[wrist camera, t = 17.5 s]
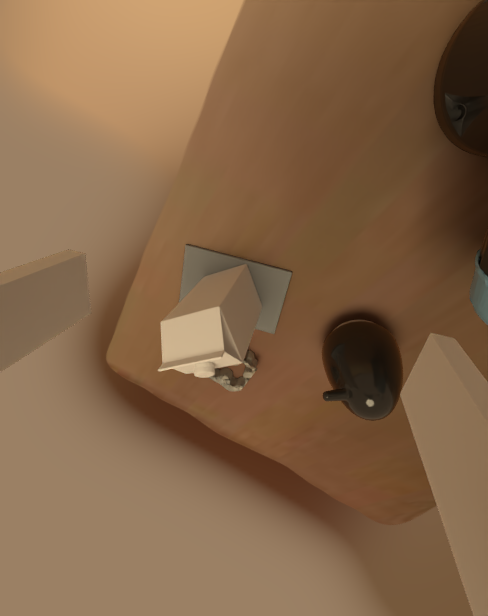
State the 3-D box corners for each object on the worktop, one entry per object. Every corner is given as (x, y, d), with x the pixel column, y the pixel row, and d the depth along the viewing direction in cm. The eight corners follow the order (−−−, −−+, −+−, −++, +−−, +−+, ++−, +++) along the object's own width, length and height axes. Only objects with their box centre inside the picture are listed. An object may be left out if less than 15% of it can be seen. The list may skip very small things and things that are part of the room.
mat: (292, 271, 44) (292, 272, 43) (274, 332, 49) (274, 334, 48) (187, 244, 45) (185, 245, 45) (179, 305, 50) (178, 307, 49)
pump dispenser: (325, 305, 45) (331, 366, 32) (400, 314, 43) (439, 382, 30) (315, 362, 49) (316, 436, 36) (382, 372, 48) (410, 454, 34)
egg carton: (263, 356, 51) (260, 371, 48) (241, 383, 55) (236, 399, 51) (210, 322, 51) (202, 335, 47) (190, 352, 54) (182, 366, 50)
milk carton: (203, 276, 46) (142, 340, 29) (247, 263, 44) (207, 324, 27) (221, 316, 49) (173, 397, 32) (262, 306, 46) (235, 387, 30)
